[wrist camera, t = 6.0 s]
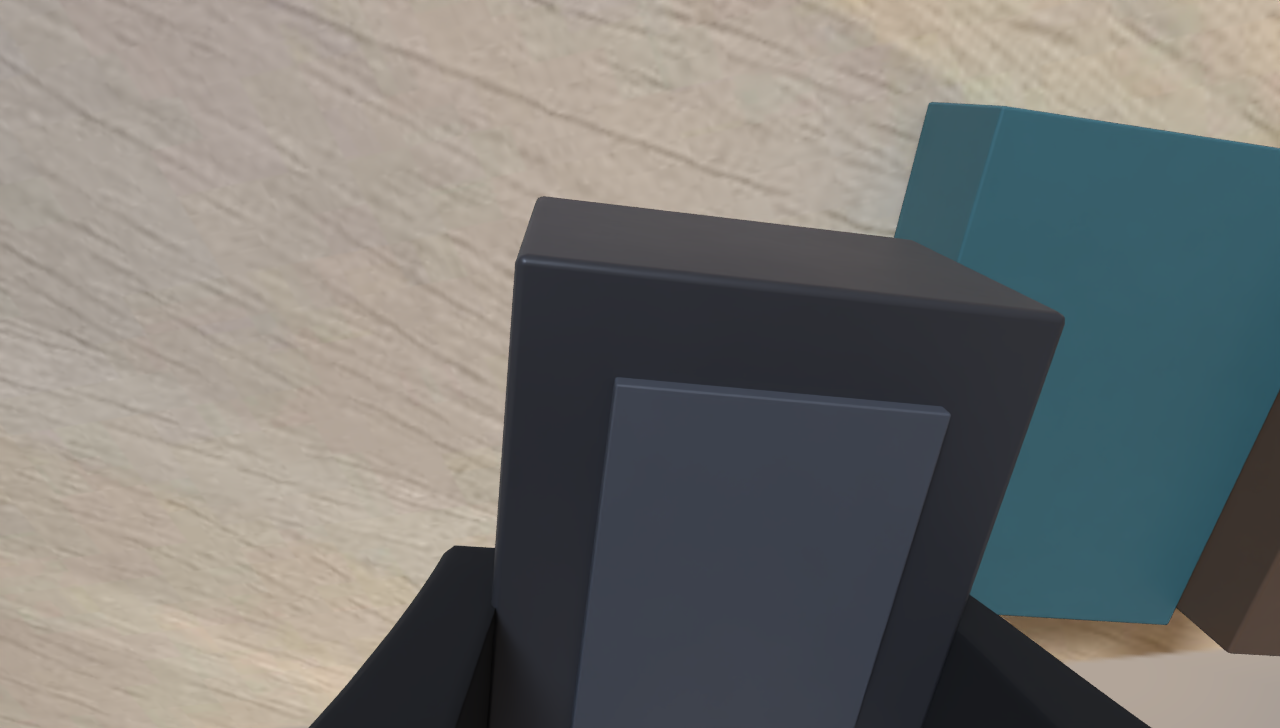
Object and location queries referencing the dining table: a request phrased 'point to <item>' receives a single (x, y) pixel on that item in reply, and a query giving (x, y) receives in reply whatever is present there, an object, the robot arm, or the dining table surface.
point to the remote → (746, 469)
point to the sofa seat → (1127, 362)
